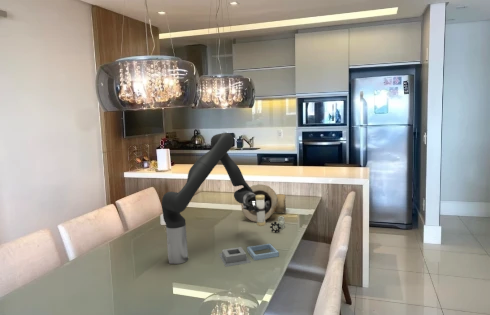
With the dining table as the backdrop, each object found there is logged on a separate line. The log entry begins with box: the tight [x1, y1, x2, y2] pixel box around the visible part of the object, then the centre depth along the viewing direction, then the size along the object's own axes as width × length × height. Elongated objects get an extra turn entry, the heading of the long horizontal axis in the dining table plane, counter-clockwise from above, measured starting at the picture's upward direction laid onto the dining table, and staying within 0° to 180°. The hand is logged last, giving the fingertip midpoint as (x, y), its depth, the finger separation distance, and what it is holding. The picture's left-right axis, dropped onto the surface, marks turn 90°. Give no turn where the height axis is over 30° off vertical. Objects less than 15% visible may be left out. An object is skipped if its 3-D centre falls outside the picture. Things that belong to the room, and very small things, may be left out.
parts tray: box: [246, 243, 280, 261], centre depth 177 cm, size 12×12×4 cm
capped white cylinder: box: [256, 195, 267, 227], centre depth 174 cm, size 4×4×14 cm
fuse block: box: [218, 246, 252, 268], centre depth 173 cm, size 12×16×4 cm
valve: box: [269, 215, 286, 234], centre depth 214 cm, size 7×7×12 cm
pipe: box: [240, 184, 287, 223], centre depth 244 cm, size 23×29×30 cm
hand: (262, 209), depth 171 cm, fingers closed on capped white cylinder, 4 cm apart
